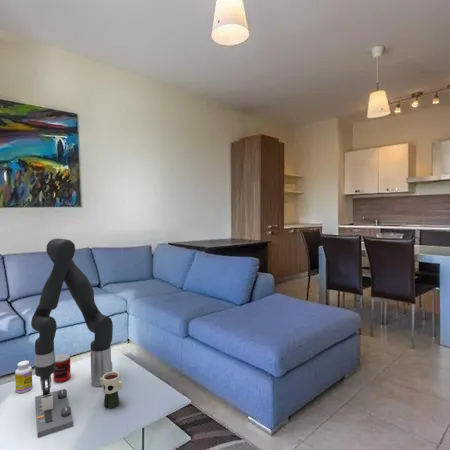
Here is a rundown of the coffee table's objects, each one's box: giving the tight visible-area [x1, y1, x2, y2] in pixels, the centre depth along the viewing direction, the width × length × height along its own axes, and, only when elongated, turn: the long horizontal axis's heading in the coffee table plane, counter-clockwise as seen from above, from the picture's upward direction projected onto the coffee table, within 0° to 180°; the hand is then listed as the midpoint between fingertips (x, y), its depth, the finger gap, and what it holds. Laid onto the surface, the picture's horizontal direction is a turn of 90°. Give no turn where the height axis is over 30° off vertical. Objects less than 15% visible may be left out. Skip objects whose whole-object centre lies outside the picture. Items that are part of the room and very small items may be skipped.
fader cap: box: [41, 392, 53, 412], centre depth 133 cm, size 4×3×5 cm
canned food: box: [52, 353, 72, 384], centre depth 160 cm, size 8×8×11 cm
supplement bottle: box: [14, 360, 33, 394], centre depth 150 cm, size 7×7×13 cm
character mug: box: [100, 370, 123, 409], centre depth 140 cm, size 11×7×13 cm, turn 73°
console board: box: [34, 388, 74, 438], centre depth 134 cm, size 12×26×4 cm, turn 32°
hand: (46, 401), depth 137 cm, fingers closed
